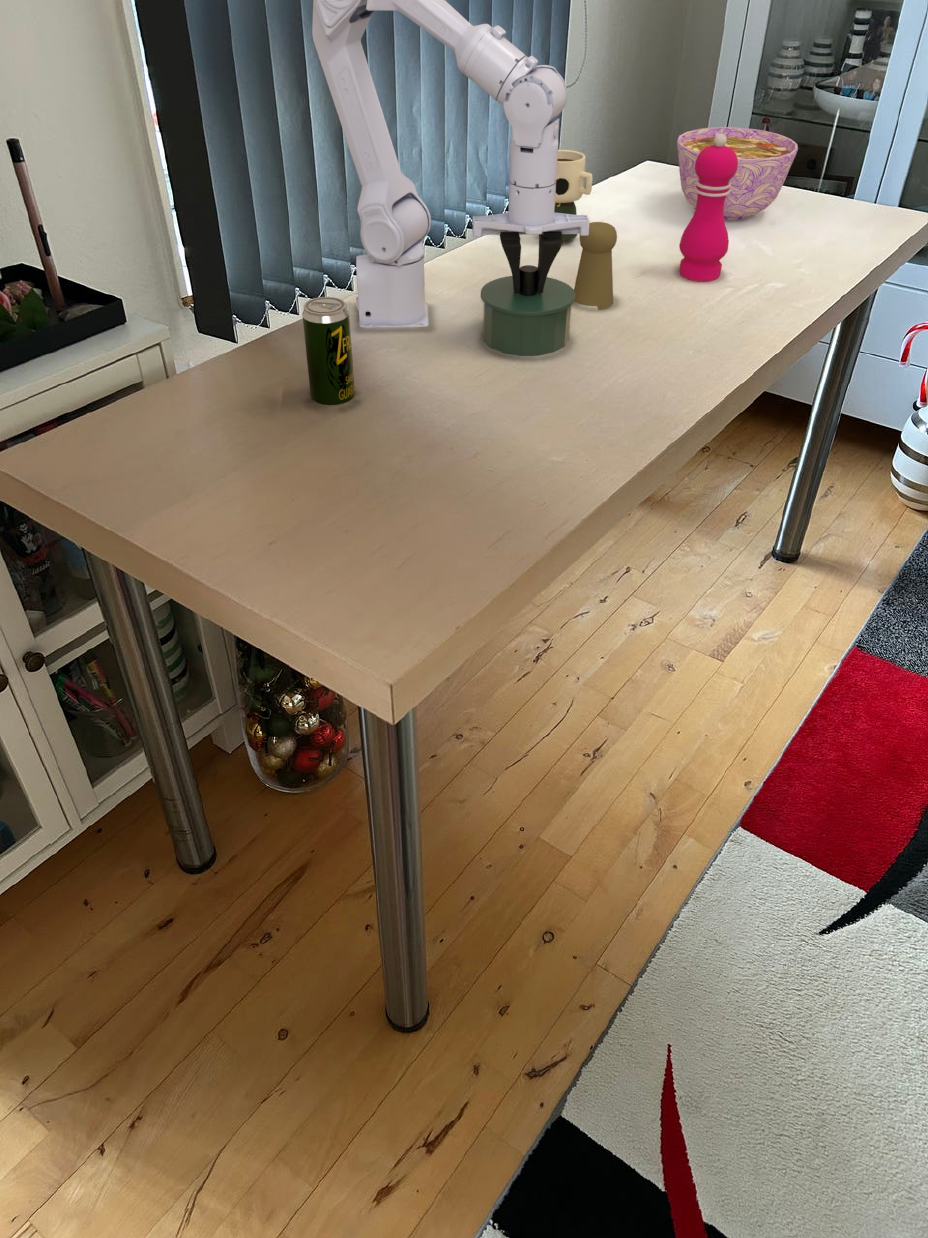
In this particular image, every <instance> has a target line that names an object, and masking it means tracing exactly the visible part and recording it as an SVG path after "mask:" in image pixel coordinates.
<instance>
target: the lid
mask: <svg viewBox="0 0 928 1238" xmlns="http://www.w3.org/2000/svg"><path fill="white" fill-rule="evenodd" d="M537 284H538V266H535V265H531V264H527V265H525V264H524V265H521V266H520V293H514V289H513V278H512V275H508V276H502V277H499V278H495V279H493V280H491V281H489V282H487V283H485V284H484V285H483V286H482V288H481V289H480V300H481V301H482V303H483V302H484V303H485V304H486V305H487V306H489V307H491V308H492V309H495V310H497V311H500V312H504V313H508V314H514V315H525V316H535V315H546V314H552V313H556V312H559V311H562V310H565V309H566V308H568V307H570V306H571V307H572V305H573V304H574V303H575V291H574V288H573V287H572V286H571V285H569V284H568V283H566V282H565V281H562V280H560V279H557V278H553V277H548V276H547V278H546V281H545V285H544V289H543V293H538V292H537Z"/></svg>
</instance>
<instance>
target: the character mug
mask: <svg viewBox="0 0 928 1238" xmlns="http://www.w3.org/2000/svg"><path fill="white" fill-rule="evenodd" d="M584 185H585V187H584ZM592 189H593V174H592V173H591V172H587V171H586V155H585V154H584V153H583V152H581V151H577V150H573V149H572V150H571V149H558V160H557V176H556V192H555V208H554V213H563V214H572V215H578V214H577V205H576V203H575V202H576V201H579V200H580V199H581V198H583V195H585V196H589V195H591V193H592ZM576 237H578V234H562V236H561V238H562V243H567V242H570V241H573V239H575V238H576Z"/></svg>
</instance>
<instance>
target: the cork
mask: <svg viewBox="0 0 928 1238" xmlns="http://www.w3.org/2000/svg"><path fill="white" fill-rule="evenodd" d="M617 233H618V232H617V230H616V227H615V226H614V225H612V224H611V223H608V222H604V221H590V224H589V235H588V236H581V235H580V234H579V243H580V247H581V248H582V249H581V254H580V259H579V264H578V267H577V268H578V269H577V273H576V278H575V283H574V288H573V290H574V291H575V301H574V303H575V302H576V303H577V304H580V305H583V306H588V307H597V310H598V311H600V310H605V309H609V308H611V307H613V305H614V282H613V281H614V280H613V279H614V278H613V251H612V250H613V249H614V248H615V246H616V244H617V242H618V234H617Z"/></svg>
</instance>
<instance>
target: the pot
mask: <svg viewBox="0 0 928 1238" xmlns="http://www.w3.org/2000/svg"><path fill="white" fill-rule="evenodd" d="M482 303H483V307H482V308H483V309H482V310H483V311H482V337H483V342H484V343H485V344H486V345H487V346H488V347H489V348H490V349H492V350H495V351H497V352H500V353H502V354H505V355H511V356H519V357H539V356H543V355H544V356H545V355H548V354H549V355H550V354H553V353H555V352H557V351H559V350H561V349H563V348H565V347H566V345H567V344H568V342H569V340H570V327H571V316H572V315H571V314H572V313H571V312H572V305H571V306H570V307H568V308H566V309H565V310H562V311H559V312H556V313H552V314H546V315H535V316H525V315H514V314H508V313H504V312H500V311H497V310H495V309H492V308H491V307H489V306H487V305H486V304H485V303H484V302H483V301H482Z"/></svg>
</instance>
